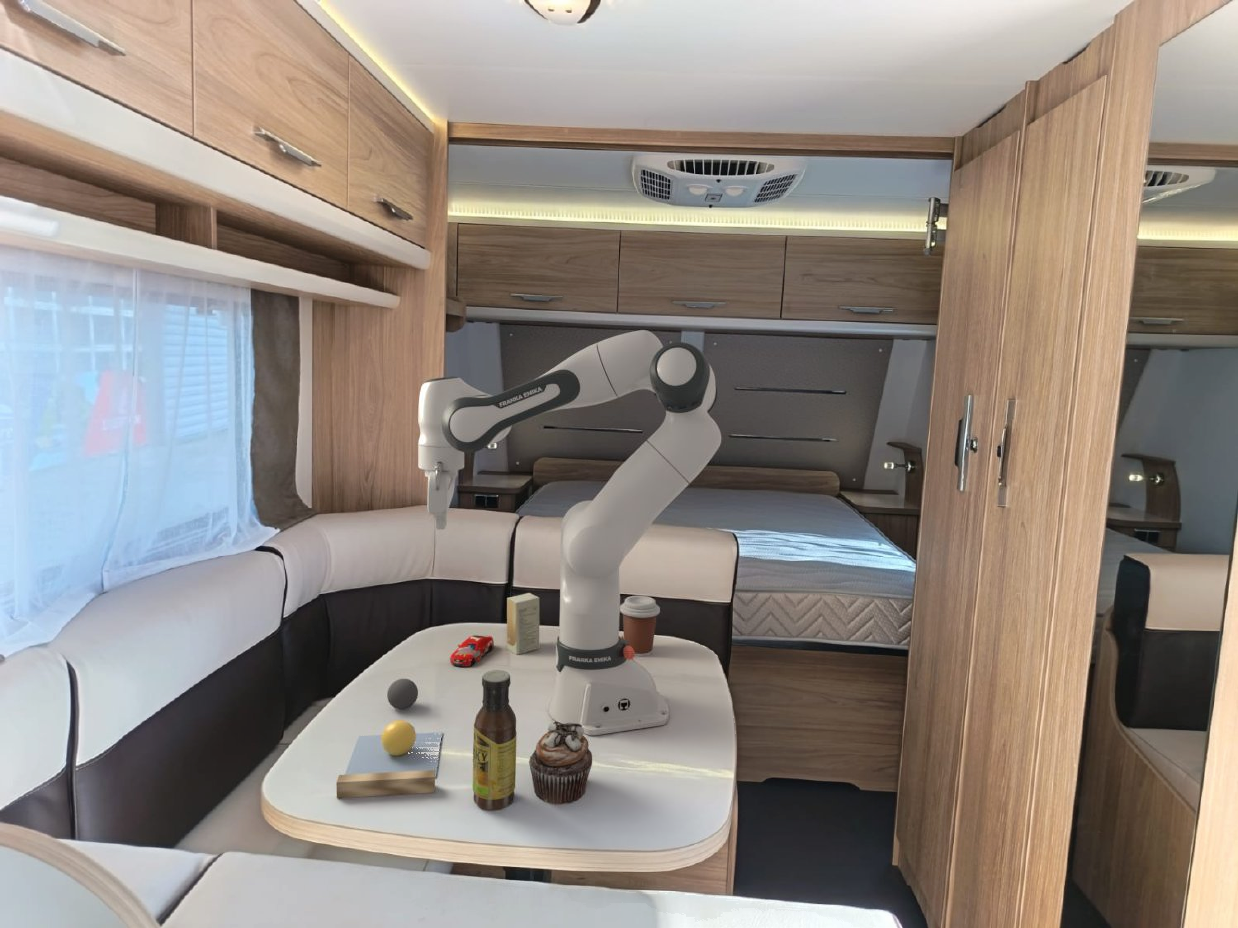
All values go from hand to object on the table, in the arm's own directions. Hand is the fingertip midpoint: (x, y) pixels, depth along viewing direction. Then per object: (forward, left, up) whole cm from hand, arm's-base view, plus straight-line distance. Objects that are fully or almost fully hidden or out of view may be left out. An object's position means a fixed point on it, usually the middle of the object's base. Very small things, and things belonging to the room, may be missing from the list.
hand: (441, 527), depth 149 cm
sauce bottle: (-11, +45, -31) cm, 56 cm away
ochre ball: (+5, +30, -28) cm, 42 cm away
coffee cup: (-43, -10, -31) cm, 54 cm away
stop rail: (+5, +41, -31) cm, 52 cm away
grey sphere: (+6, +14, -28) cm, 32 cm away
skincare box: (-17, -13, -31) cm, 38 cm away
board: (+5, +31, -31) cm, 44 cm away
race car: (-6, -10, -32) cm, 34 cm away
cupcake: (-21, +43, -31) cm, 57 cm away
